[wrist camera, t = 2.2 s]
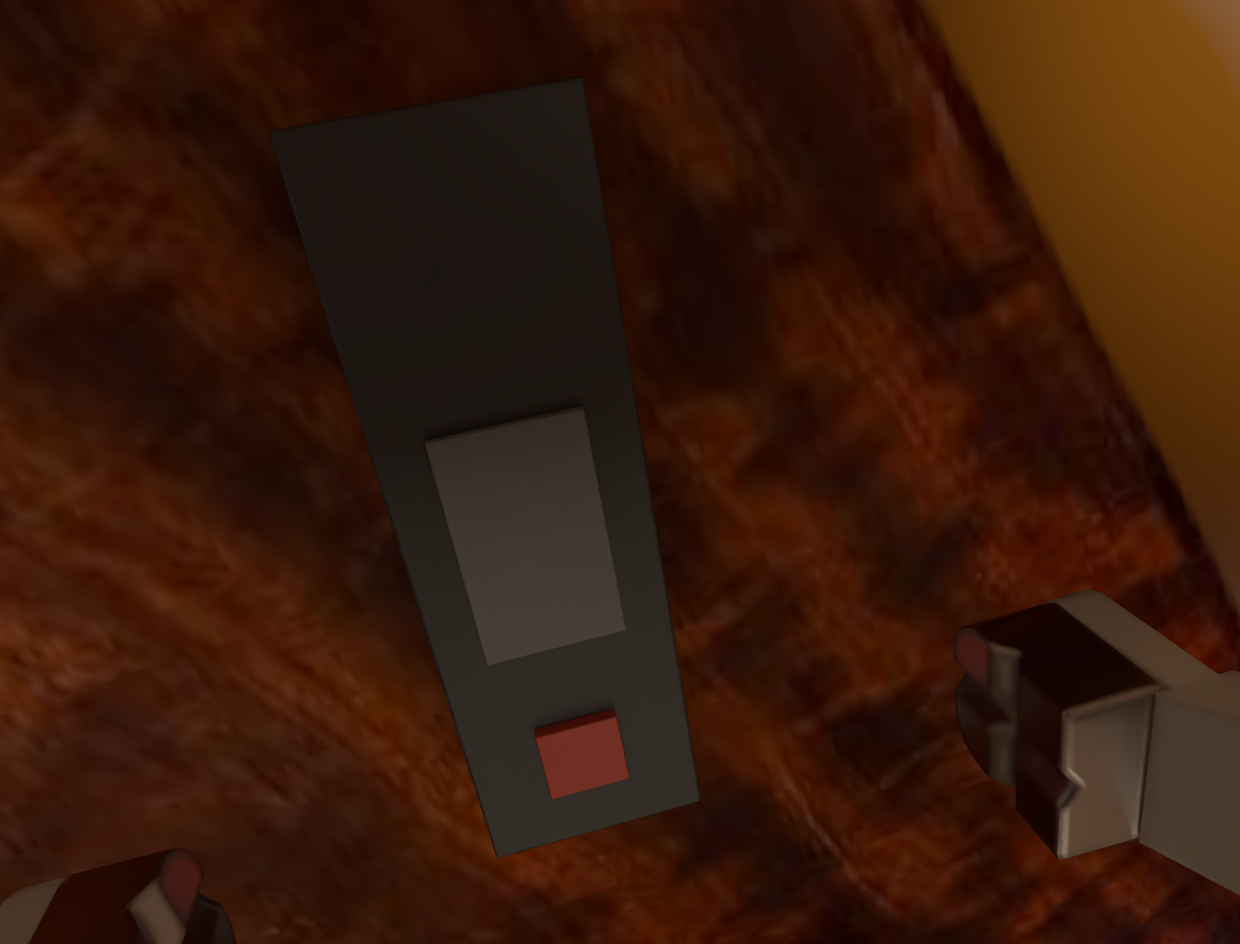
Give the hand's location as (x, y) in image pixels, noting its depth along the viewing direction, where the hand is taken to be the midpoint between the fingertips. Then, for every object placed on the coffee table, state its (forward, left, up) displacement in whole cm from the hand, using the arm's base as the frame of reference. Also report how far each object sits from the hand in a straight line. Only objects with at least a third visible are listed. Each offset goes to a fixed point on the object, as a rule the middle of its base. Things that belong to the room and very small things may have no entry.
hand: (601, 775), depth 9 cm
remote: (0, 0, -9) cm, 9 cm away
